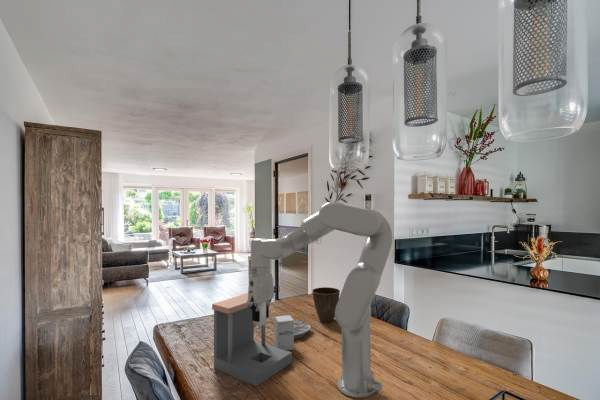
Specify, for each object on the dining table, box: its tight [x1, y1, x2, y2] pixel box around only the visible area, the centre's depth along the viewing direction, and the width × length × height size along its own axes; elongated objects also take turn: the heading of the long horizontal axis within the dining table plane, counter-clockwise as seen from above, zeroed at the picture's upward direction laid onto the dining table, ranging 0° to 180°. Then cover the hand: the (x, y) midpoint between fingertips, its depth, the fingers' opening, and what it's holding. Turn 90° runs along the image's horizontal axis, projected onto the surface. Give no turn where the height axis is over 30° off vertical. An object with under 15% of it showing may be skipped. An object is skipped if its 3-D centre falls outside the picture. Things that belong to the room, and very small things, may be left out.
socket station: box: [211, 292, 293, 387], centre depth 120 cm, size 22×21×24 cm
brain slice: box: [294, 320, 312, 340], centre depth 152 cm, size 20×17×3 cm
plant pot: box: [311, 286, 341, 324], centre depth 168 cm, size 15×15×16 cm
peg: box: [254, 301, 267, 326], centre depth 118 cm, size 4×4×10 cm
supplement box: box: [273, 315, 295, 351], centre depth 136 cm, size 7×7×13 cm
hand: (260, 318), depth 118 cm, fingers closed on peg, 4 cm apart
